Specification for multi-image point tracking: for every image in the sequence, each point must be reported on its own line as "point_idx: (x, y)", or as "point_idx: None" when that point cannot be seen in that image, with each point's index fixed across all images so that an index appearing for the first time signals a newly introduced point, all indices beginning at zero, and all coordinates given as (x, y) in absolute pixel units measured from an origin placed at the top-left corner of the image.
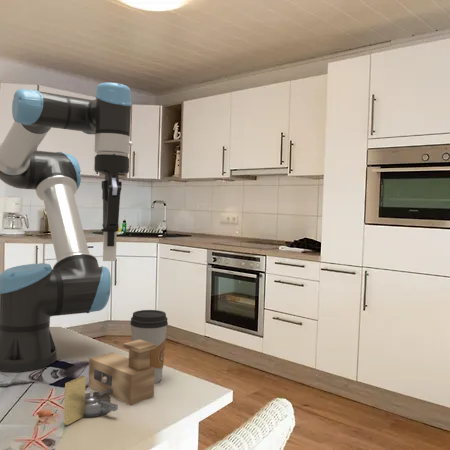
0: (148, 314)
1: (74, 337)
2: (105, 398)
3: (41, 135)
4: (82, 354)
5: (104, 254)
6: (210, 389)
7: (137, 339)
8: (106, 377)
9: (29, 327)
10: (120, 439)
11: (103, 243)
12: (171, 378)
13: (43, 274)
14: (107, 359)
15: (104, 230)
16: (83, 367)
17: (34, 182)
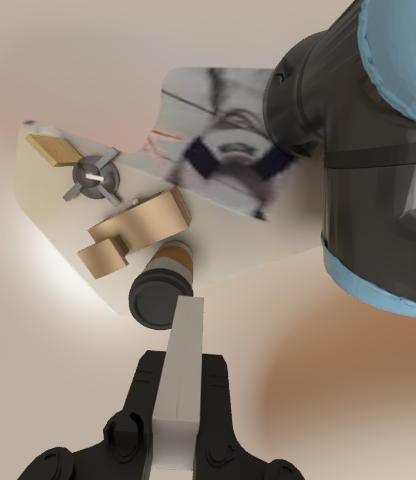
0: (160, 304)
1: None
2: (91, 192)
3: None
4: (306, 199)
5: (175, 314)
6: None
7: (149, 265)
8: (133, 204)
9: (300, 91)
10: (26, 190)
11: (191, 350)
12: None
13: (392, 91)
14: (157, 214)
15: (113, 429)
16: (248, 191)
17: None
